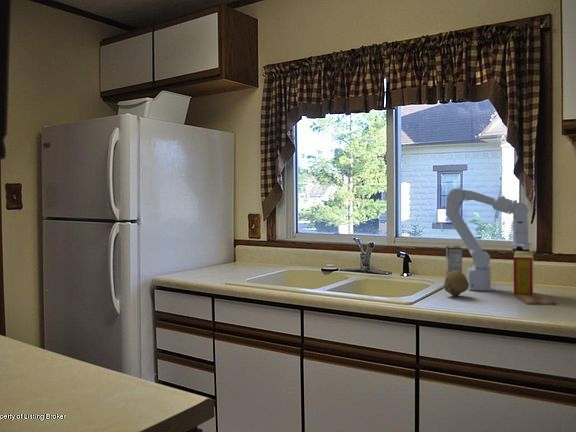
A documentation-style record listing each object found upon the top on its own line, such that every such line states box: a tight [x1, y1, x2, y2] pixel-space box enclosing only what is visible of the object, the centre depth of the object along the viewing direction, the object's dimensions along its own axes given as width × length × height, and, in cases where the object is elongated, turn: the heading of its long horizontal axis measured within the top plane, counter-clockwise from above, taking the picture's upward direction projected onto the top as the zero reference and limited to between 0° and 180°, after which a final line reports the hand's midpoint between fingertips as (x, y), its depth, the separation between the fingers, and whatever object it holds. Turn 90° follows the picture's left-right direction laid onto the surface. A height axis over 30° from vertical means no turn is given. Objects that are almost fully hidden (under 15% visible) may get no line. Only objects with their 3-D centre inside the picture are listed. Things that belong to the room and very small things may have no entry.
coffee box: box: [445, 245, 463, 277], centre depth 231 cm, size 9×6×16 cm
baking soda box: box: [513, 250, 534, 296], centre depth 200 cm, size 10×6×16 cm
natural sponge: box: [443, 271, 469, 297], centre depth 198 cm, size 9×9×10 cm
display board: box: [514, 294, 557, 306], centre depth 188 cm, size 10×14×1 cm
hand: (521, 265), depth 206 cm, fingers closed
